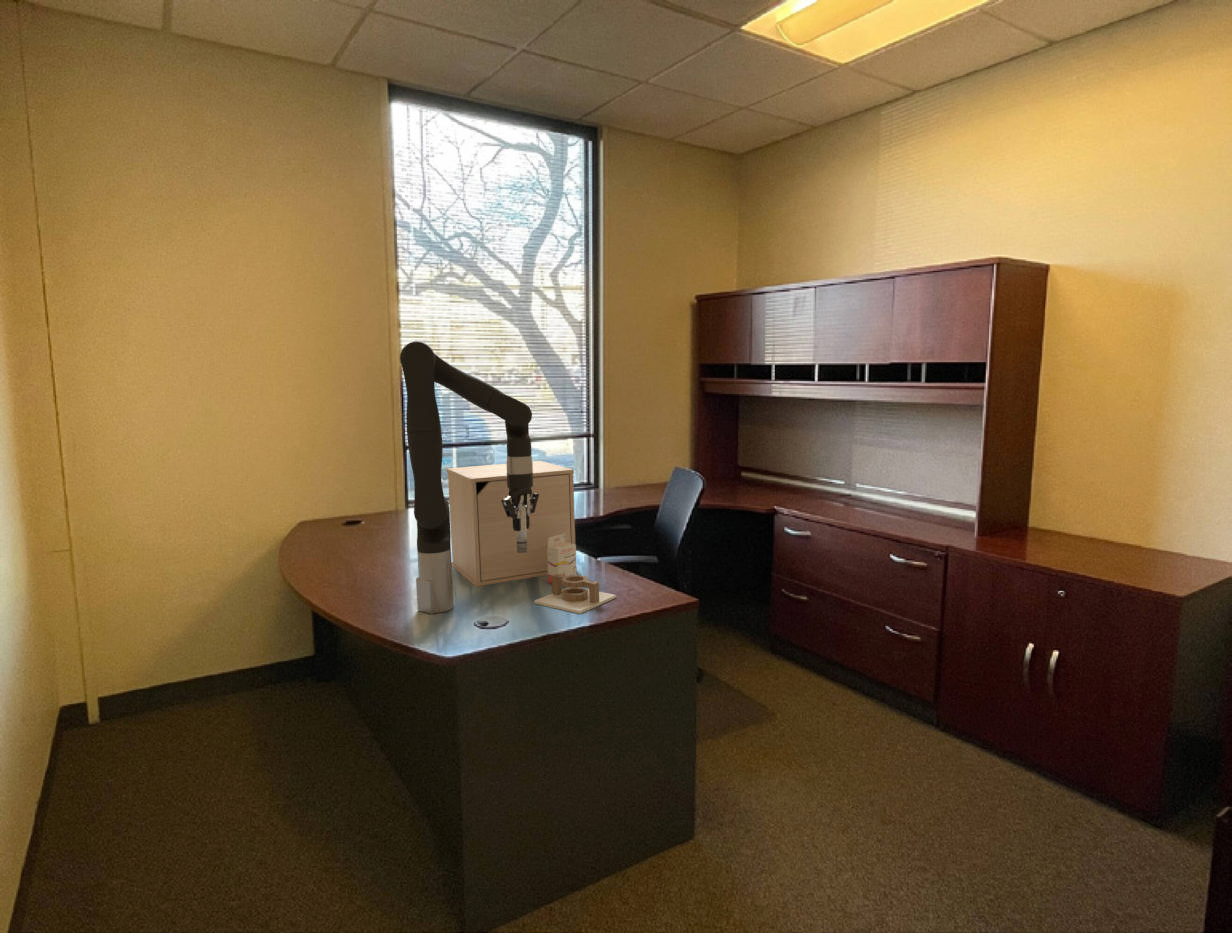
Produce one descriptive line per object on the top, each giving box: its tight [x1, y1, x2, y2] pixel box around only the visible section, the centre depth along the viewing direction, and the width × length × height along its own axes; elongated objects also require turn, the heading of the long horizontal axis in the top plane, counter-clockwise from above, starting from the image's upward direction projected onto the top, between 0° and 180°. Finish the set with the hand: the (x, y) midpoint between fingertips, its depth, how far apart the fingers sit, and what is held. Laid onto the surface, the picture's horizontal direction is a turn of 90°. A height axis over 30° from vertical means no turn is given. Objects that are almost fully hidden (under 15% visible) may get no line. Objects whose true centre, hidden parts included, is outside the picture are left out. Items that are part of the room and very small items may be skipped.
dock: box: [533, 574, 617, 615], centre depth 210 cm, size 17×17×6 cm
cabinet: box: [446, 460, 578, 587], centre depth 246 cm, size 35×29×34 cm
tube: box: [516, 505, 527, 553], centre depth 211 cm, size 3×3×14 cm
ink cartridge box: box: [547, 534, 577, 584], centre depth 230 cm, size 9×5×15 cm, turn 141°
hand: (521, 529), depth 211 cm, fingers closed on tube, 3 cm apart
